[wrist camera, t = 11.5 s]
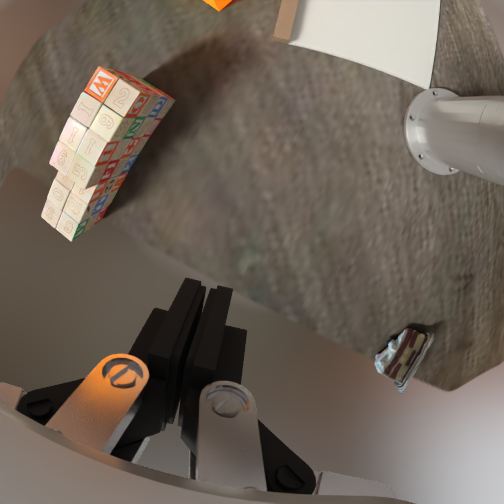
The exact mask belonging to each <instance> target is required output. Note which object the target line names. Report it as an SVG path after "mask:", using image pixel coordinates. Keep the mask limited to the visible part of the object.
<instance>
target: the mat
mask: <svg viewBox="0 0 504 504" xmlns="http://www.w3.org/2000/svg"><path fill="white" fill-rule="evenodd" d="M439 9H440V0H282V2H281V6H280V11H279V15H278V19H277V23H276V27H275V31H274V36H273V41H276V42H281V43H286V44H291V45H295V46H300V47H304V48H308V49H312V50H316V51H319V52H323V53H327V54H330V55H334V56H337V57H341V58H344V59H347V60H350V61H353V62H356V63H360V64H362V65H365V66H368V67H371V68H374V69H377V70H379V71H382V72H385V73H387V74H390V75H393V76H395V77H398V78H400V79H402V80H405V81H407V82H410V83H412V84H414V85H417V86H419V87H421V88H423V89H425V90H426V89H429V86H430V81H431V75H432V68H433V62H434V55H435V48H436V40H437V31H438V21H439Z"/></svg>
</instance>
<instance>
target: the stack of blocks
mask: <svg viewBox="0 0 504 504" xmlns="http://www.w3.org/2000/svg"><path fill="white" fill-rule="evenodd" d="M174 102H175V99H173V98H172V97H170V96H169V95H167V94H166V93H164V92H162V91H161V90H159V89H157V88H156V87H154V86H153V85H151V84H150V83H148V82H146V81H145V80H143V79H141V78H138V77H135V76H131V75H128V74H125V73H123V72H119V71H116V70H111V69H107V68H104V67H100V66H99V67H98V68H97V70H96V71H95V73H94V75H93V76H92V78H91V80H90V81H89V83H88V85H87V87H86V88H85V91H84V92H82V94H81V95H80V97H79V99H78V101H77V103H76V105H75V107H74V109H73V111H72V113H71V116H70V117H69V118H68V121H67V123H66V125H65V127H64V129H63V131H62V133H61V136H60V138H59V141H58V143H57V145H56V148H55V150H54V153H53V155H52V157H51V160H50V164H51V165H52V166H54V167H55V168H56V169H57V170H59V171H58V173H57V176H56V178H55V179H54V182H53V184H52V186H51V189H50V192H49V194H48V199H47V201H46V204H45V206H44V209H43V212H42V215H41V216H42V218H43V219H45V220H46V221H47V222H48V223H49V224H50V225H52V226H53V227H54V228H56V229H57V230H58V231H59V232H60V233H62V234H63V235H64V236H65V237H66V238H68V239H69V240H70V241H73V240H75V239H76V238H77V237H79V236H80V235H82V234H83V232H85V231H86V230H88V229H89V228H91V227H92V226H93V225H95V224H96V223H98V222H99V221H101V220H102V218H103V216H104V214H105V212H106V210H107V208H108V206H109V205H110V204H111V202H112V200H113V198H114V196H115V195H116V193H117V191H118V189H119V187H120V186H121V184H122V182H123V181H124V179H125V177H126V175H127V174H128V171H129V169H130V168H131V166H132V164H133V163H134V161H135V159H136V158H137V156H138V154H139V153H140V151H141V150H142V148H143V146H144V145H145V143H146V142H147V140H148V139H149V137H150V136H151V135H152V133H153V132H154V130H155V129H156V127H157V126H158V124H159V123H160V121H161V120H162V119H163V117H164V116H165V115H166V113H167V112H168V110H169V109H170V108H171V106H172V105H173V103H174Z"/></svg>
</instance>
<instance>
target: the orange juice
mask: <svg viewBox="0 0 504 504" xmlns="http://www.w3.org/2000/svg"><path fill="white" fill-rule="evenodd" d="M204 1H205V2H207V3H208V4H210V5H211V6H212V7H214V8H215V9H217V10H218V11H220V10H221V9H222V8H224V7H225V6H226V5H227V4H228V3H229V2H231V1H232V0H204Z"/></svg>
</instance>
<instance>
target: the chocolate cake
mask: <svg viewBox="0 0 504 504" xmlns="http://www.w3.org/2000/svg"><path fill="white" fill-rule="evenodd" d="M434 335H435V334H434V333H433V332H430V333H429V332H428V333H426V334H425V335H424V334H422V333H421V334H420V333H419V332H418V331H415V330H413V329H411V328H407V329H405V330H404V331H403V332H402V333H401V335H399V336H398V339H396V340H393V339H392V340H390V339H389V340H387V344H388V348H386V349H385V350H384V351H383V352H381V353H380V354H377V355H376V358H375V359H376V361H375V366H376V369H377V371H378V372H379V373H381V374H382V375H384V376H385V377H388V378H389V379H391V380H393V381H394V384H395V387H396V388H397V390H399V392H400V394H401V393H402V392H403V391H404V389H405V387H406V386H407V384H408V383H409V381H410V380H411V378H412V377H413V375H414V373H415V372H416V370H417V368H418V366H419V364H420V362H421V361H422V359H423V358H424V356H425V353H426V351H427V350H428V348H429V347H430V345H431V343H432V342H433V339H434Z"/></svg>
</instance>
